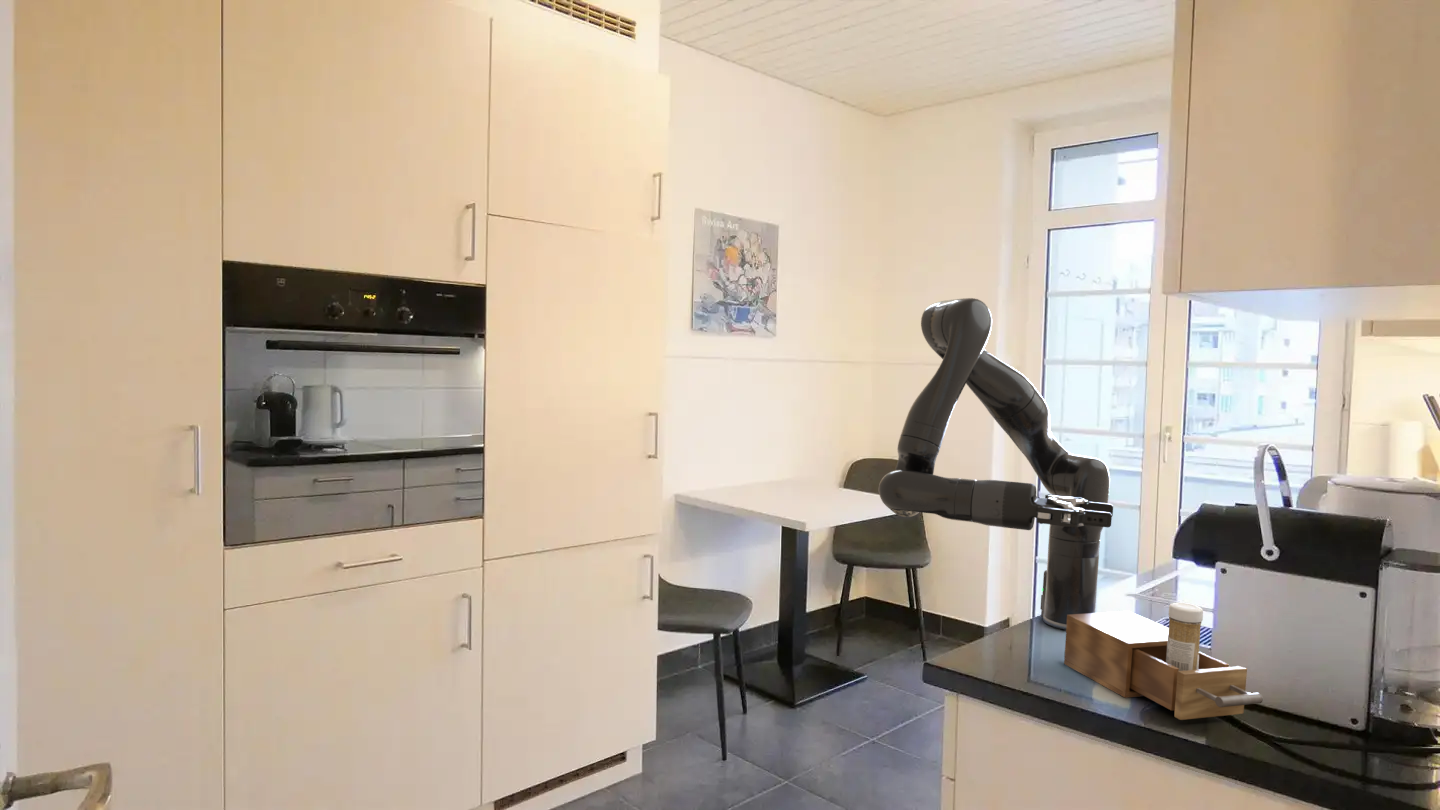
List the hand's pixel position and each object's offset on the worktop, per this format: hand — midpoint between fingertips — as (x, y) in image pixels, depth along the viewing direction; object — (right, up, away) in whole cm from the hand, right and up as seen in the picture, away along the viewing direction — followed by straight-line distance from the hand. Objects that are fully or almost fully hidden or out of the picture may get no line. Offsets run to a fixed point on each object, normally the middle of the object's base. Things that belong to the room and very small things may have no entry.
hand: (1112, 515), depth 137 cm
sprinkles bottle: (+9, -27, -3) cm, 28 cm away
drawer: (+10, -28, -4) cm, 30 cm away
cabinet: (+6, -28, +8) cm, 30 cm away
